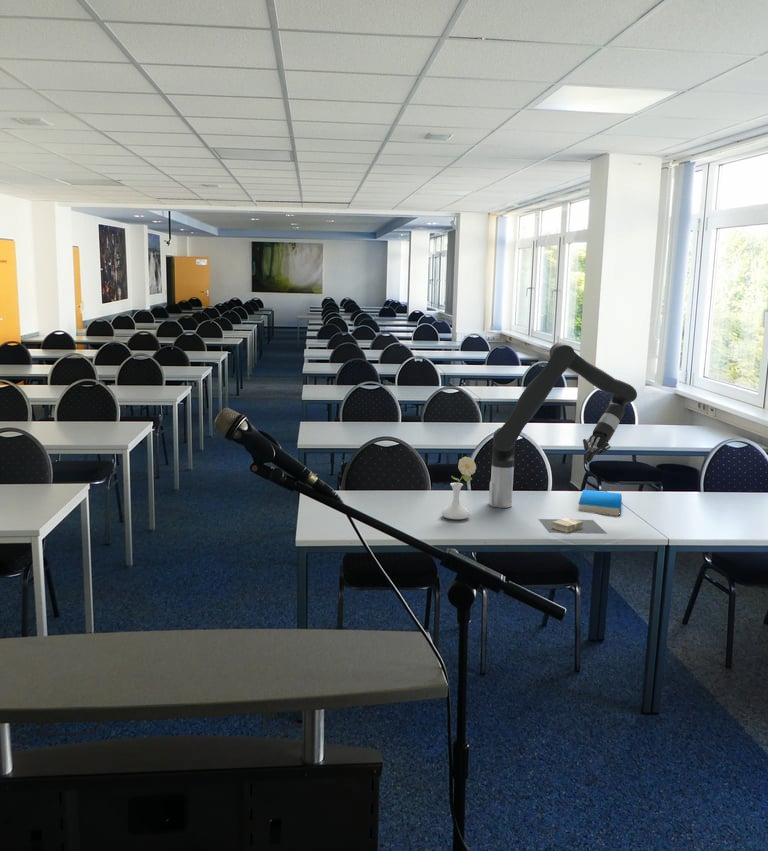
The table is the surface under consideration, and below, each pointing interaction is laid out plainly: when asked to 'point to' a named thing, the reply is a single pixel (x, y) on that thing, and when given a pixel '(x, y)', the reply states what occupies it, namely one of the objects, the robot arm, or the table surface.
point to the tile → (567, 524)
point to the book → (600, 502)
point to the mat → (588, 527)
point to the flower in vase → (455, 507)
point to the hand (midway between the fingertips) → (586, 461)
